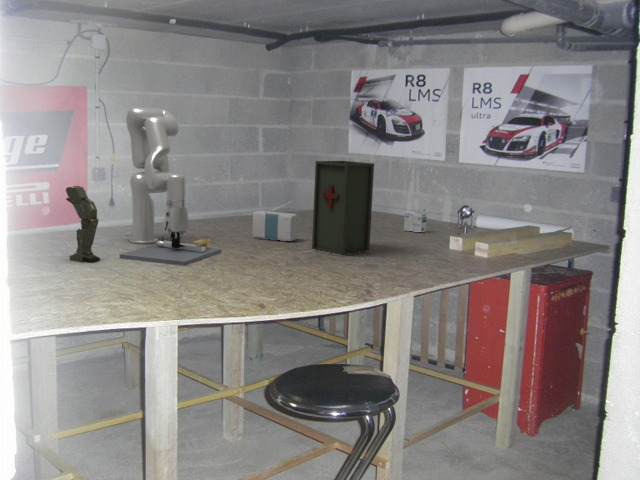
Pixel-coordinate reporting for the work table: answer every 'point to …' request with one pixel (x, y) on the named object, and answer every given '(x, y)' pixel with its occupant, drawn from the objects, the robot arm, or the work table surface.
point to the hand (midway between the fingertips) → (175, 247)
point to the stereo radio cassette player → (274, 225)
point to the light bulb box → (415, 221)
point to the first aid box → (342, 206)
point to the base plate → (168, 255)
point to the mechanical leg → (84, 224)
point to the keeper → (203, 243)
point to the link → (182, 245)
